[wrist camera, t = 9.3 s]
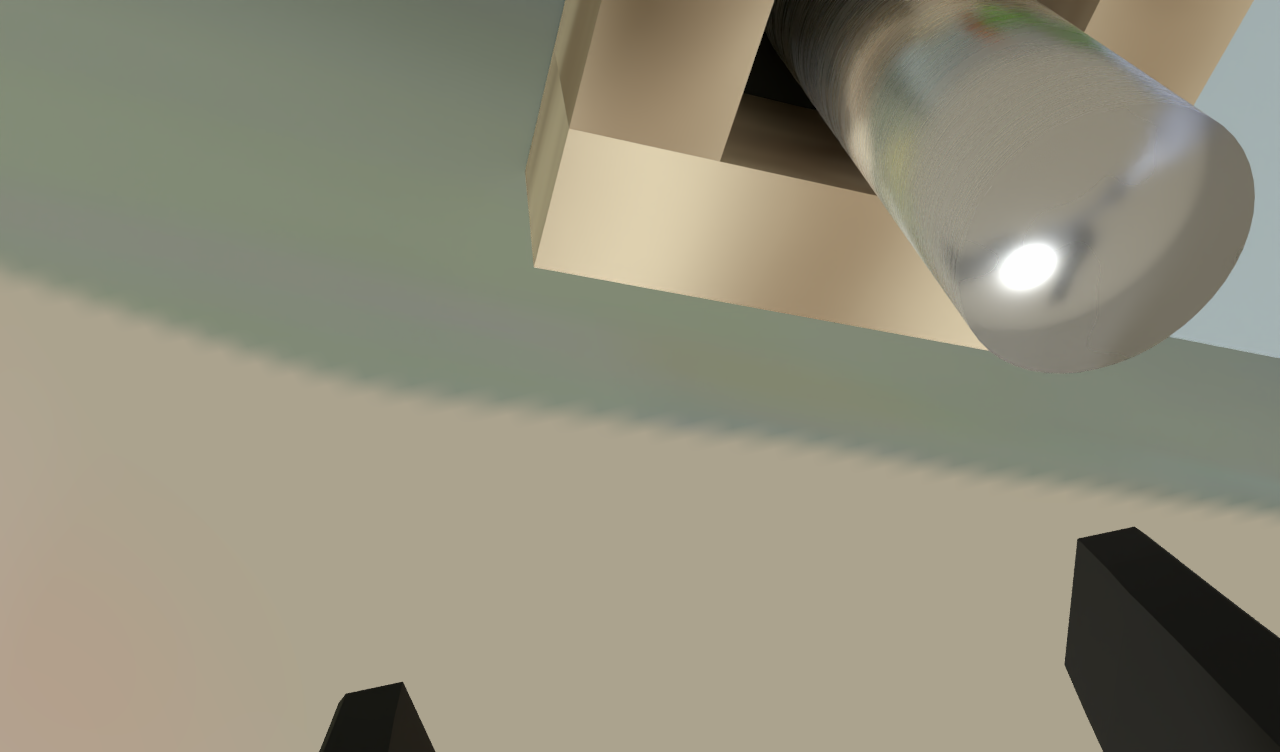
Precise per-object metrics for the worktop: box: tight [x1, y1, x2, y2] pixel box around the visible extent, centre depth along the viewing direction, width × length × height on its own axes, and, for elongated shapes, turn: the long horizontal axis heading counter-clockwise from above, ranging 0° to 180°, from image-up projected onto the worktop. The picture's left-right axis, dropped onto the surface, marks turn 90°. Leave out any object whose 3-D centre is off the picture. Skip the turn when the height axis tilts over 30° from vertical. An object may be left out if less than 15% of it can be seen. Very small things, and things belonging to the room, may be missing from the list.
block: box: [525, 0, 1254, 351], centre depth 16 cm, size 9×9×4 cm
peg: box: [765, 0, 1255, 373], centre depth 14 cm, size 3×3×9 cm
